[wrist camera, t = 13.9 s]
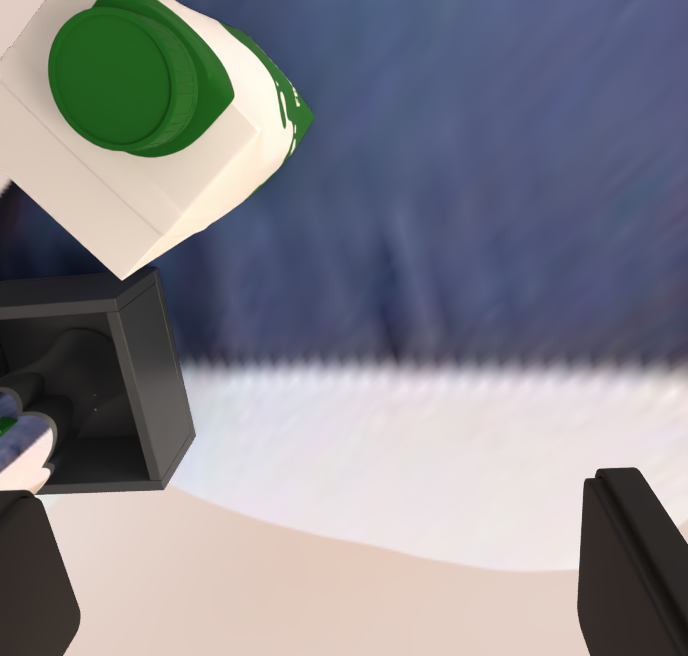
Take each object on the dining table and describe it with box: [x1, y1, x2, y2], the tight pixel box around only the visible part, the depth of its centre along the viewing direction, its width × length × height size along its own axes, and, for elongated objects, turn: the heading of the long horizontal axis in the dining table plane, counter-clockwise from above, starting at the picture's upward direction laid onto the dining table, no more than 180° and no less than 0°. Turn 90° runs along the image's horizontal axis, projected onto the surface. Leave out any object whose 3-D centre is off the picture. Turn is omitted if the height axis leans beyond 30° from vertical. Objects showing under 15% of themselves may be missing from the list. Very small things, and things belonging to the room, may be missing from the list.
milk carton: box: [0, 0, 315, 280], centre depth 27 cm, size 9×9×20 cm
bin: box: [0, 268, 196, 495], centre depth 41 cm, size 14×14×7 cm
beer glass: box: [0, 329, 125, 495], centre depth 36 cm, size 7×7×15 cm
